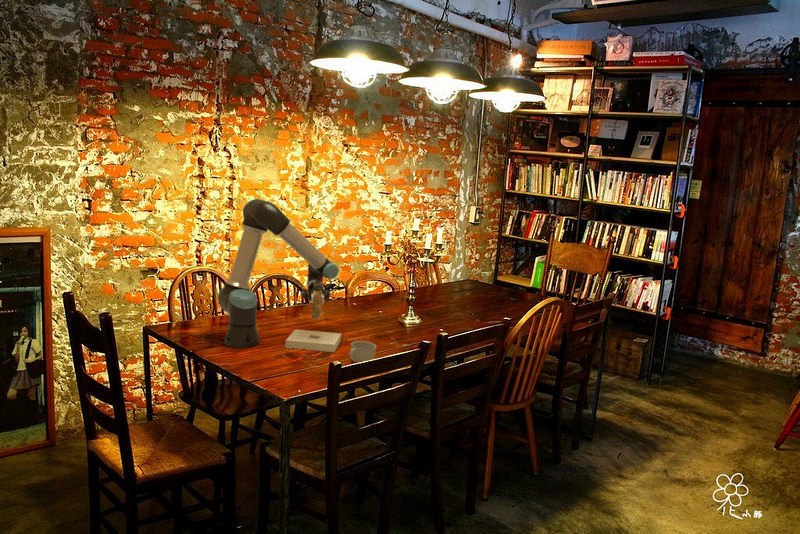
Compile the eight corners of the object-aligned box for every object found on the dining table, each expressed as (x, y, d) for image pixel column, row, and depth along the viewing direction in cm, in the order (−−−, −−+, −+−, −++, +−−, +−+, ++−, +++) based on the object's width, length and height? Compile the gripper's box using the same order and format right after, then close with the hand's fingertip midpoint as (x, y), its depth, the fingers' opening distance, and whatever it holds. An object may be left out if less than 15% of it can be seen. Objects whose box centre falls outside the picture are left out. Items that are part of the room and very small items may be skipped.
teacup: (363, 356, 274) (364, 339, 273) (380, 363, 267) (381, 345, 266) (339, 362, 265) (340, 344, 263) (355, 369, 257) (356, 351, 256)
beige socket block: (285, 347, 279) (285, 340, 278) (294, 336, 296) (295, 329, 296) (334, 352, 277) (334, 344, 277) (340, 340, 295) (341, 333, 295)
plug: (310, 318, 283) (312, 284, 280) (312, 316, 287) (314, 282, 284) (319, 319, 283) (321, 284, 280) (321, 317, 287) (323, 283, 284)
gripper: (332, 297, 303) (336, 309, 280) (297, 295, 300) (297, 307, 277) (333, 281, 302) (337, 292, 279) (298, 280, 298) (298, 291, 276)
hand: (317, 300), depth 278 cm, fingers closed on plug, 4 cm apart
